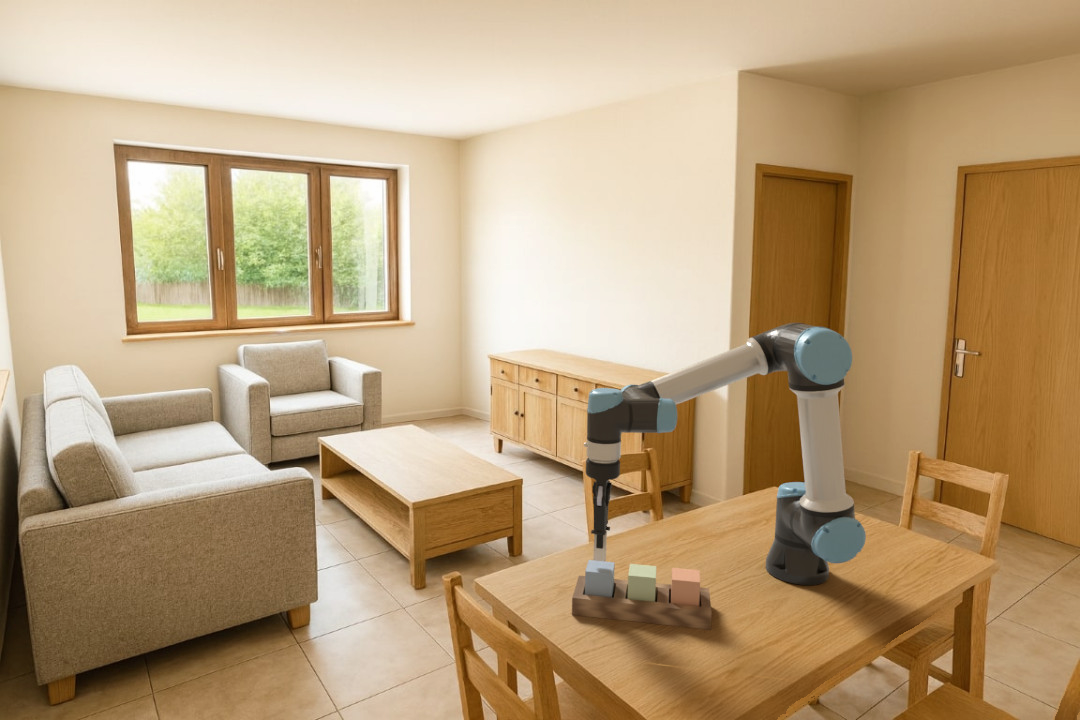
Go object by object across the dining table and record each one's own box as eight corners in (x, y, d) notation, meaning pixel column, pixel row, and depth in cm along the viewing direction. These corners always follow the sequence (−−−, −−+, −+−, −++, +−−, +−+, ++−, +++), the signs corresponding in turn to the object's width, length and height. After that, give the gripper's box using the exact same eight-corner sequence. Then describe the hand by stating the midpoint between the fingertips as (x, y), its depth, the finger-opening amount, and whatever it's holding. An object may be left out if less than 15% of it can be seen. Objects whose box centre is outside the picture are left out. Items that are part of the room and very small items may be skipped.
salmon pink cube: (697, 599, 158) (699, 570, 157) (698, 612, 152) (700, 582, 151) (670, 596, 159) (672, 567, 158) (670, 609, 153) (672, 579, 152)
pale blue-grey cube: (613, 590, 161) (614, 562, 160) (611, 603, 155) (612, 573, 154) (587, 588, 162) (588, 559, 161) (584, 600, 156) (585, 571, 155)
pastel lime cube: (655, 595, 159) (656, 566, 158) (654, 607, 154) (655, 578, 153) (628, 592, 161) (629, 563, 160) (627, 605, 155) (628, 575, 154)
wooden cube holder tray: (708, 604, 160) (709, 588, 159) (710, 629, 149) (711, 612, 149) (578, 591, 166) (578, 575, 165) (571, 614, 155) (572, 597, 154)
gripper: (589, 449, 161) (586, 546, 165) (582, 465, 148) (579, 570, 152) (622, 451, 160) (618, 549, 163) (617, 468, 147) (613, 574, 151)
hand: (599, 559), depth 158 cm, fingers closed
